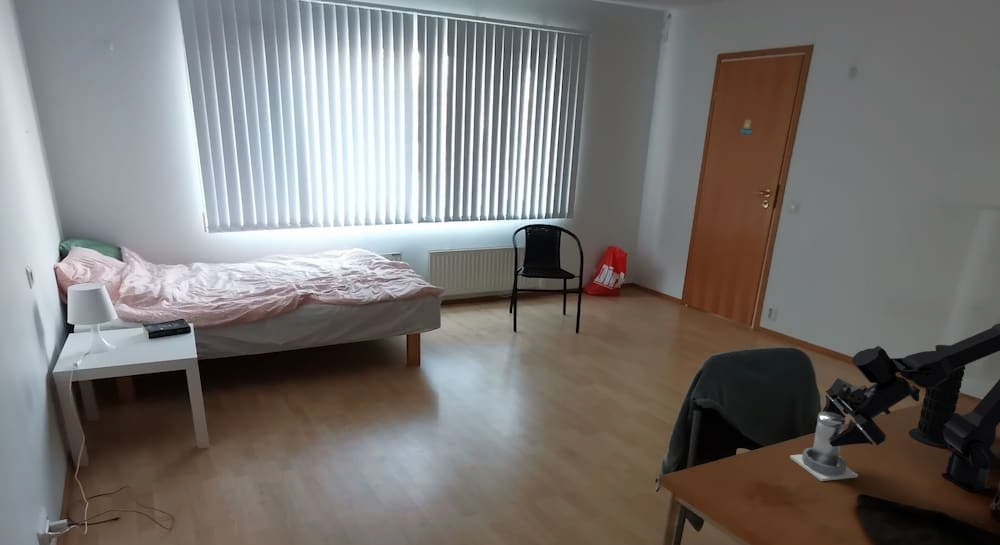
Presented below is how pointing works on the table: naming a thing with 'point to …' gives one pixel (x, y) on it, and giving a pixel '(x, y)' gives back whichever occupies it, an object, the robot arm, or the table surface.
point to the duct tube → (827, 438)
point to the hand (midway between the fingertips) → (822, 434)
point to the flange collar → (823, 467)
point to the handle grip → (938, 409)
